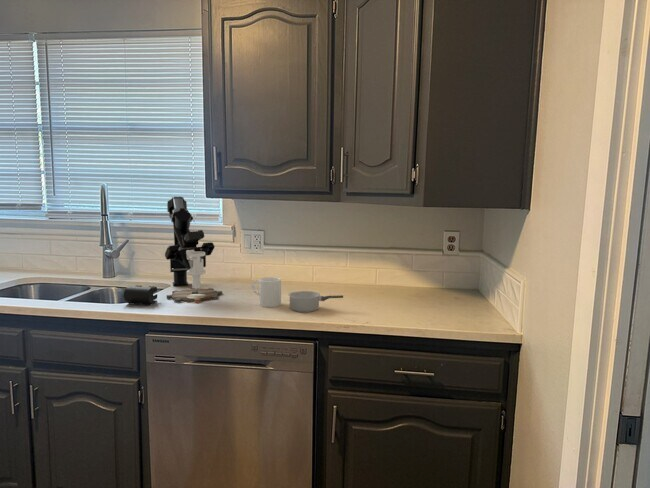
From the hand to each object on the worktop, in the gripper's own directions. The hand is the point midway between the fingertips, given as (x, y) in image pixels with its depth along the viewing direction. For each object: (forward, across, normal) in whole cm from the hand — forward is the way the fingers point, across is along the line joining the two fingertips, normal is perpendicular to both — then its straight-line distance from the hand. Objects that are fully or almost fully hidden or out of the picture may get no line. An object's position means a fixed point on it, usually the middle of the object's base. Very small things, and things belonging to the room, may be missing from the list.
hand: (197, 267), depth 170 cm
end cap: (+3, -19, +16) cm, 25 cm away
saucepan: (+37, +27, -18) cm, 49 cm away
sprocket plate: (+4, +2, +14) cm, 15 cm away
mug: (+24, +17, -6) cm, 30 cm away
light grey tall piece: (+5, 0, +7) cm, 8 cm away
